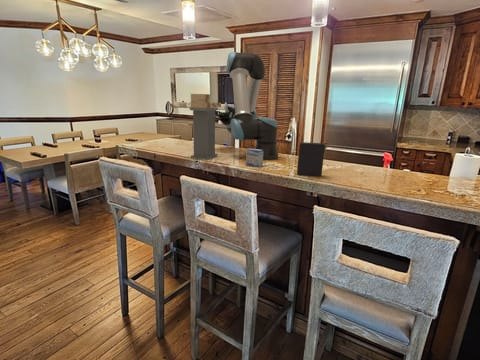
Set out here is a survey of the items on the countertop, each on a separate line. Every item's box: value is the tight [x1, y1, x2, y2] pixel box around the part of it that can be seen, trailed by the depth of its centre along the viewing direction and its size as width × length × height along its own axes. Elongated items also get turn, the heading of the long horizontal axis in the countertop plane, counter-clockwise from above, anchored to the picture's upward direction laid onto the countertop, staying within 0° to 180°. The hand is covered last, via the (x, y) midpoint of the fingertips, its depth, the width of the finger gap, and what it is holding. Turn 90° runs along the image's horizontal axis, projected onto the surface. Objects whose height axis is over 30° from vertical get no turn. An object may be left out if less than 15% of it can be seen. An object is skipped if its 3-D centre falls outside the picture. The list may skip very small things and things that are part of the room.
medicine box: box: [245, 148, 264, 168], centre depth 147 cm, size 8×4×9 cm, turn 62°
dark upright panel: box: [296, 141, 326, 177], centre depth 131 cm, size 11×4×15 cm, turn 84°
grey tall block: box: [189, 106, 219, 161], centre depth 162 cm, size 16×11×28 cm
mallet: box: [190, 93, 222, 108], centre depth 163 cm, size 27×8×7 cm, turn 159°
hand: (214, 103), depth 171 cm, fingers open, 13 cm apart
